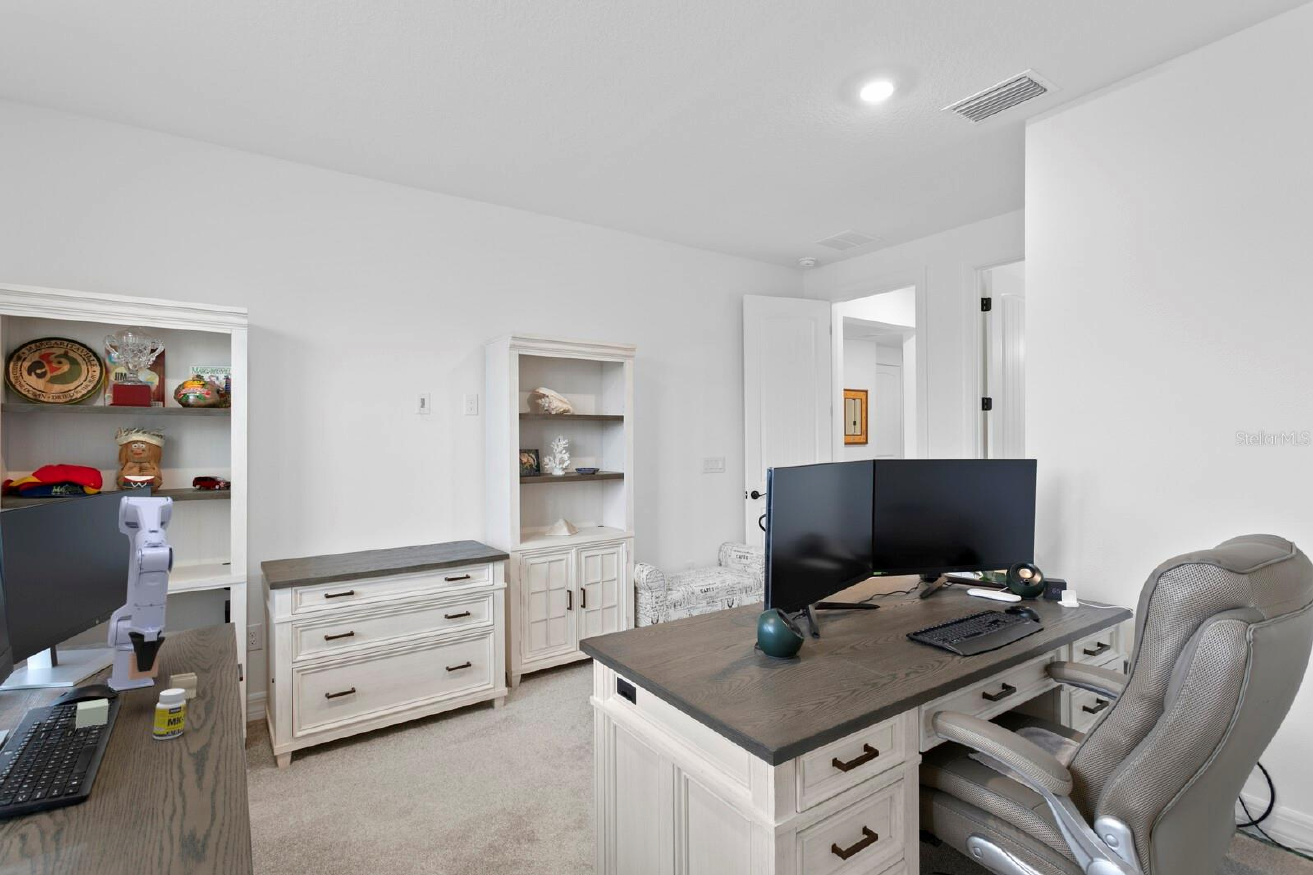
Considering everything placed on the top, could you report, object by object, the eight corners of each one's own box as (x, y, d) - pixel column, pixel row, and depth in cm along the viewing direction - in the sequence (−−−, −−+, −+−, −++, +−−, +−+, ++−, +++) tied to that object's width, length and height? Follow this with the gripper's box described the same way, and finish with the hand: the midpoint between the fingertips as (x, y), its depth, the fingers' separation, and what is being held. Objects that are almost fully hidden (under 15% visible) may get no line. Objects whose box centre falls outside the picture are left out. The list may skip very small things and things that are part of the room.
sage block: (75, 726, 129) (77, 703, 130) (104, 721, 132) (107, 698, 133) (76, 733, 126) (78, 709, 126) (106, 728, 129) (108, 705, 129)
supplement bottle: (166, 741, 124) (170, 697, 125) (146, 738, 125) (150, 694, 126) (189, 732, 129) (193, 689, 129) (169, 729, 130) (173, 686, 130)
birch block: (168, 696, 147) (170, 675, 148) (192, 692, 151) (194, 672, 151) (170, 701, 144) (172, 681, 144) (195, 697, 147) (197, 677, 147)
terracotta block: (128, 674, 139) (130, 652, 139) (154, 670, 142) (156, 649, 142) (130, 680, 135) (132, 658, 136) (157, 676, 139) (159, 654, 139)
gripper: (122, 599, 142) (116, 662, 141) (128, 612, 131) (122, 680, 131) (163, 596, 147) (157, 657, 146) (171, 608, 136) (165, 674, 136)
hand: (143, 668), depth 139 cm, fingers closed on terracotta block, 4 cm apart
